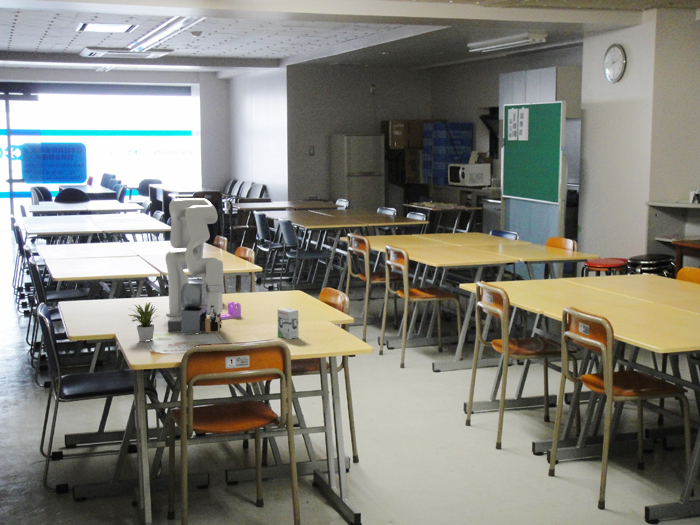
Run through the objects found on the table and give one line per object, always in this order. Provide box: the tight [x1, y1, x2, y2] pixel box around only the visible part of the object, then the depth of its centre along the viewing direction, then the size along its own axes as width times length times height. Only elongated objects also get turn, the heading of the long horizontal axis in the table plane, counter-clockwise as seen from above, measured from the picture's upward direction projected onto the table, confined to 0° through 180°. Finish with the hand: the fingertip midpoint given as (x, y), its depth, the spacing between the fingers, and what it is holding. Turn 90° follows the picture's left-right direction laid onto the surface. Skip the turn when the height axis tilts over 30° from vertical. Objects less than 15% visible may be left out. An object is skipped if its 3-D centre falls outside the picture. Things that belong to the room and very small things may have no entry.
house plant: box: [128, 302, 158, 342], centre depth 324 cm, size 14×14×16 cm
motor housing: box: [180, 282, 208, 335], centre depth 340 cm, size 12×8×21 cm, turn 175°
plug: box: [167, 315, 223, 333], centre depth 341 cm, size 5×23×6 cm, turn 85°
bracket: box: [221, 301, 242, 321], centre depth 371 cm, size 13×6×7 cm, turn 132°
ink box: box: [277, 307, 299, 340], centre depth 327 cm, size 9×5×12 cm, turn 44°
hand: (215, 329), depth 341 cm, fingers closed on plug, 5 cm apart
